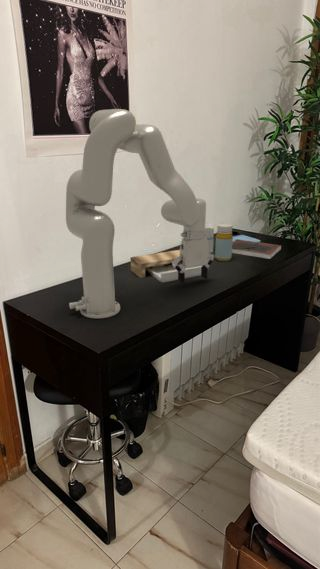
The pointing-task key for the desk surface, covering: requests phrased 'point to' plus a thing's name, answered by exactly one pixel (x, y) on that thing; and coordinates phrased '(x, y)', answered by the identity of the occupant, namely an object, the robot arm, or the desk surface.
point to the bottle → (223, 242)
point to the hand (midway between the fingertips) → (192, 279)
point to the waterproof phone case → (245, 238)
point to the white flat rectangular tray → (172, 272)
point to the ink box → (209, 236)
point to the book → (255, 248)
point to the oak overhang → (152, 261)
